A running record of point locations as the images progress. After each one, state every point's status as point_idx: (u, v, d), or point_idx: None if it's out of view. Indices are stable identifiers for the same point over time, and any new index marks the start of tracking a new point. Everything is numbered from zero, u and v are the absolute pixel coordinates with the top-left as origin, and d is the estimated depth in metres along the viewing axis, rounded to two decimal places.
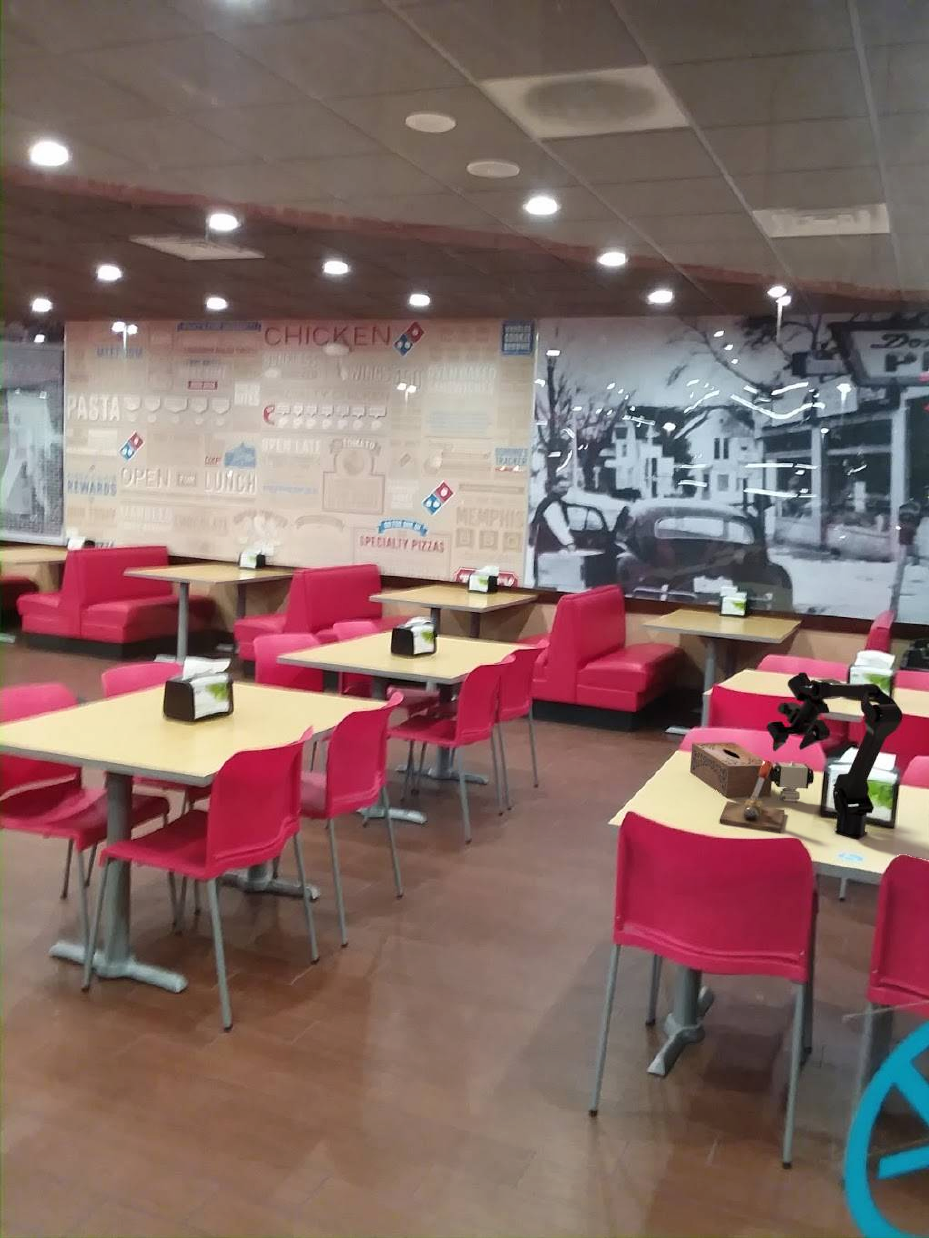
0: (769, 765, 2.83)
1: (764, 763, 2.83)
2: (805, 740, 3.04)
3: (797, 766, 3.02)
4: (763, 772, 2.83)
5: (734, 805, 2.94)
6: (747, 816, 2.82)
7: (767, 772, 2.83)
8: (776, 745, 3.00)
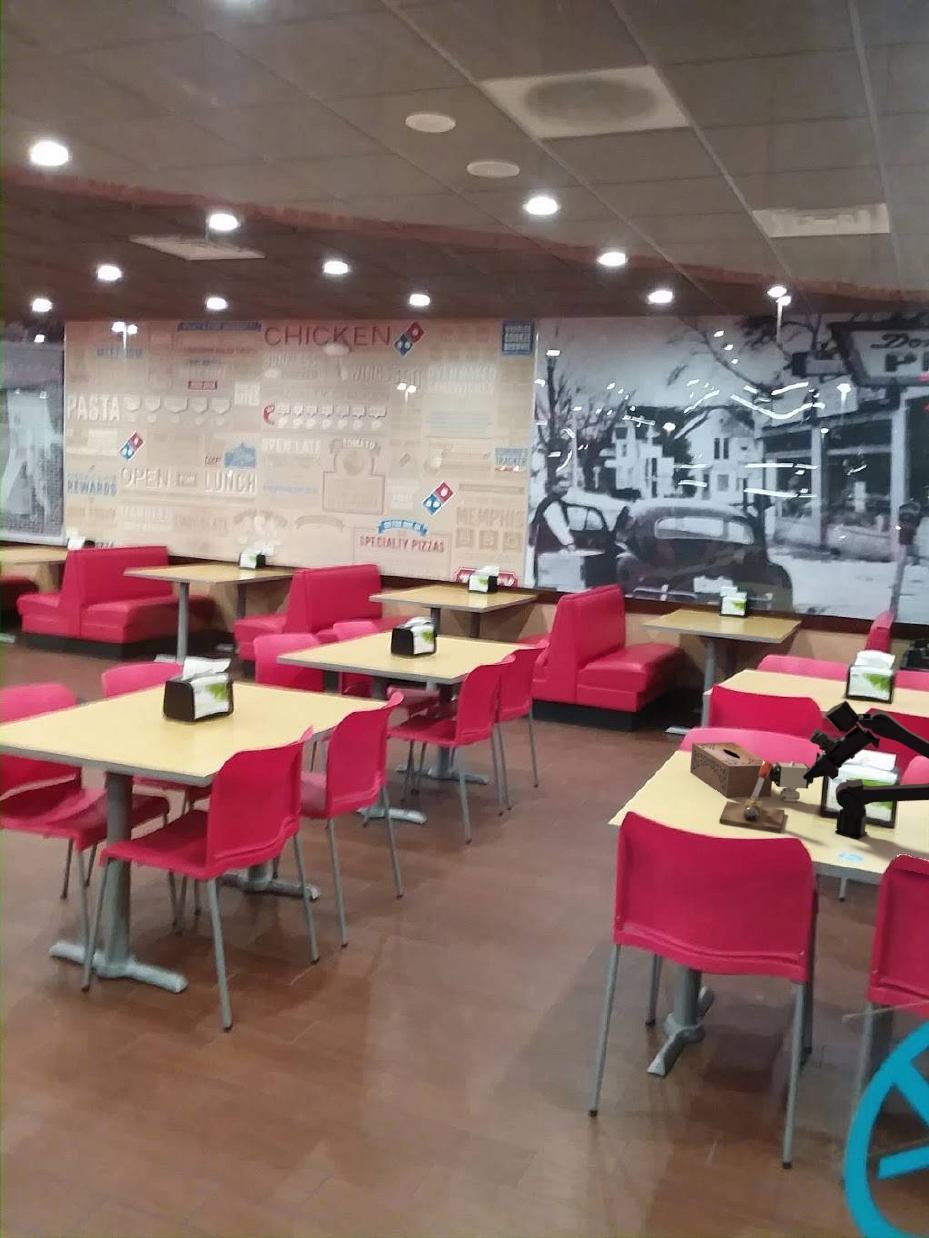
0: (769, 765, 2.83)
1: (764, 763, 2.83)
2: None
3: (797, 766, 3.02)
4: (763, 772, 2.83)
5: (734, 805, 2.94)
6: (747, 816, 2.82)
7: (767, 772, 2.83)
8: (815, 775, 2.78)
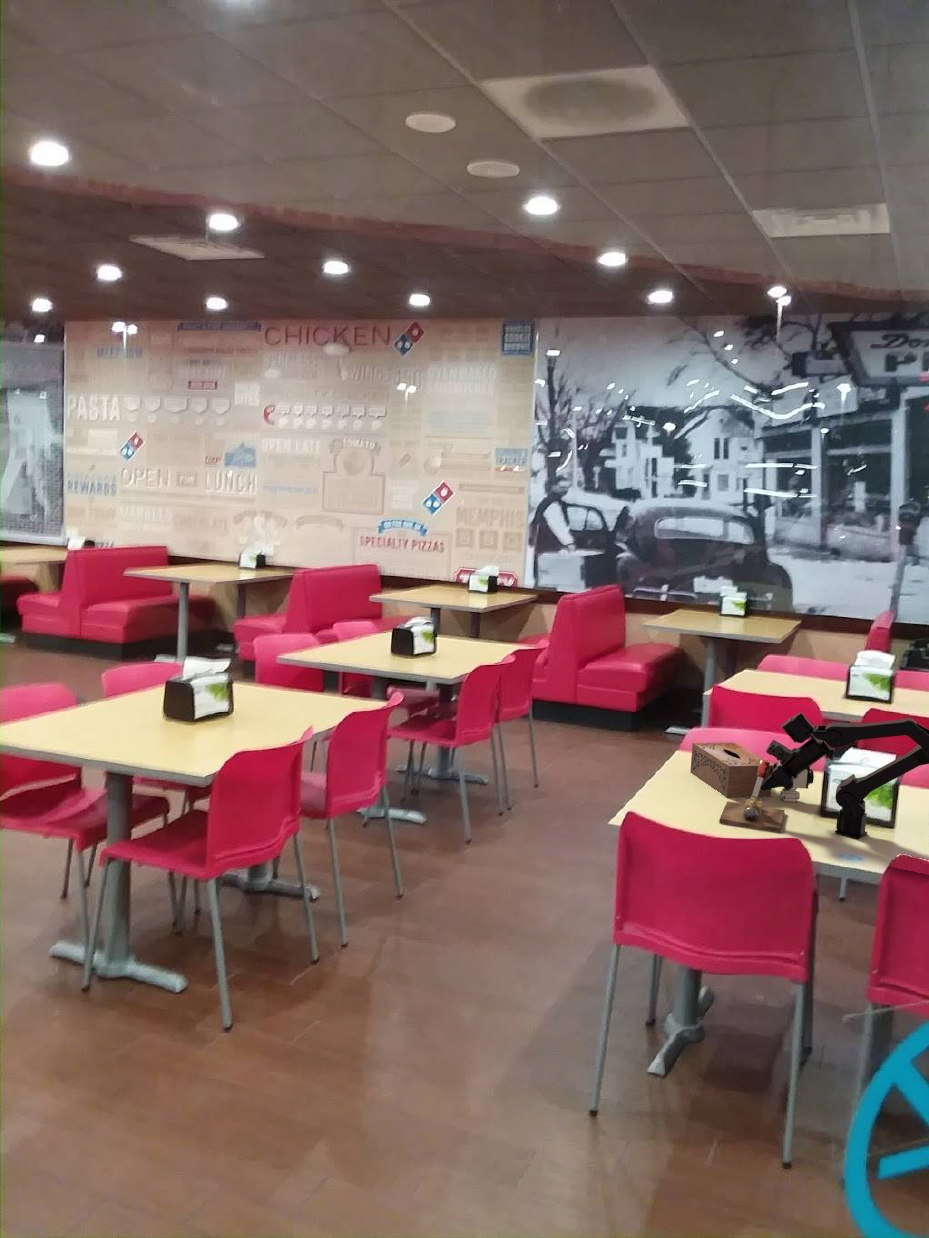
0: (767, 764, 2.83)
1: (761, 762, 2.84)
2: None
3: None
4: (761, 771, 2.84)
5: (734, 805, 2.94)
6: (747, 816, 2.82)
7: (765, 771, 2.84)
8: (772, 786, 2.83)
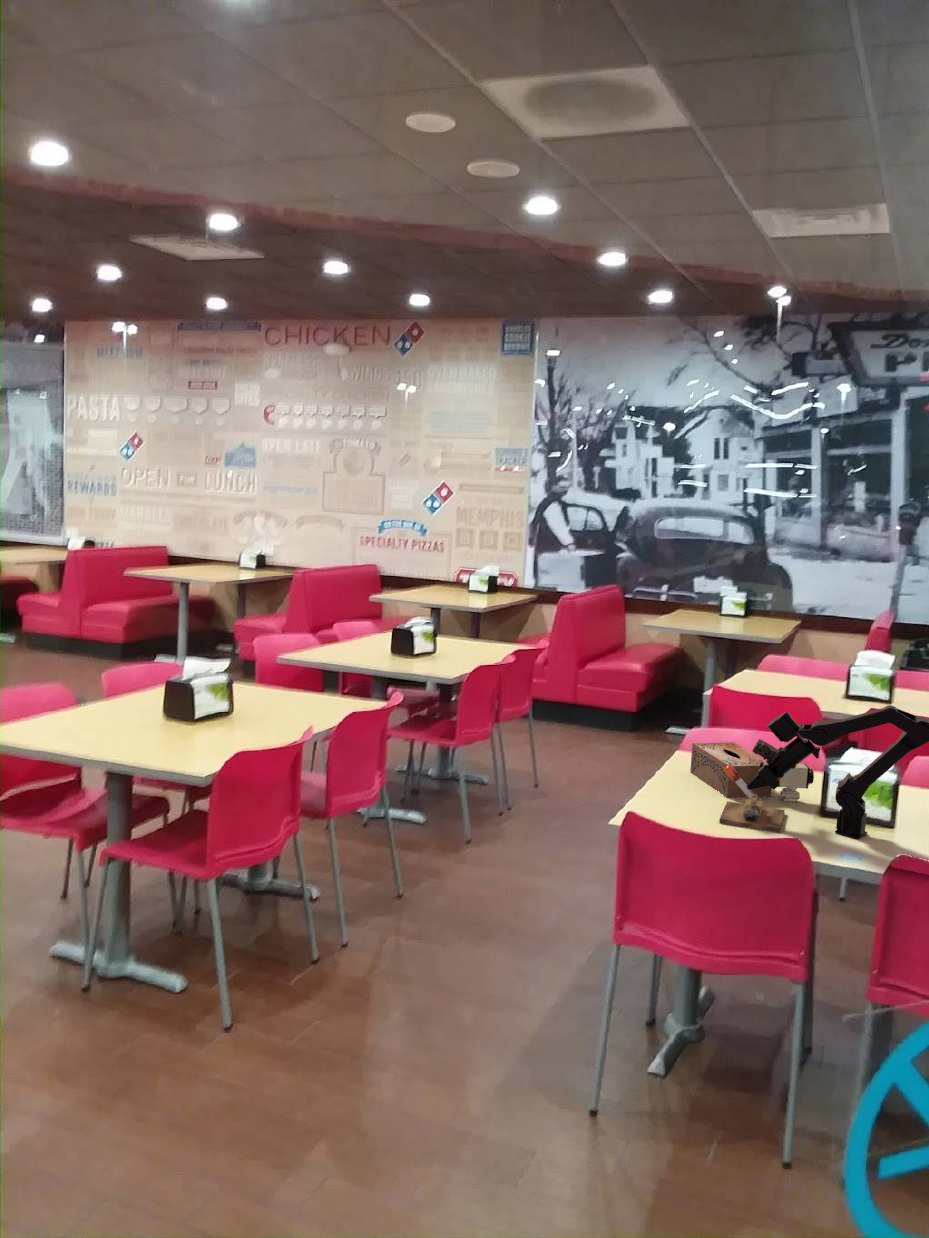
0: (729, 767, 2.87)
1: (725, 770, 2.87)
2: None
3: (797, 766, 3.02)
4: (732, 776, 2.87)
5: (734, 805, 2.94)
6: (747, 816, 2.82)
7: (734, 773, 2.87)
8: (759, 785, 2.84)
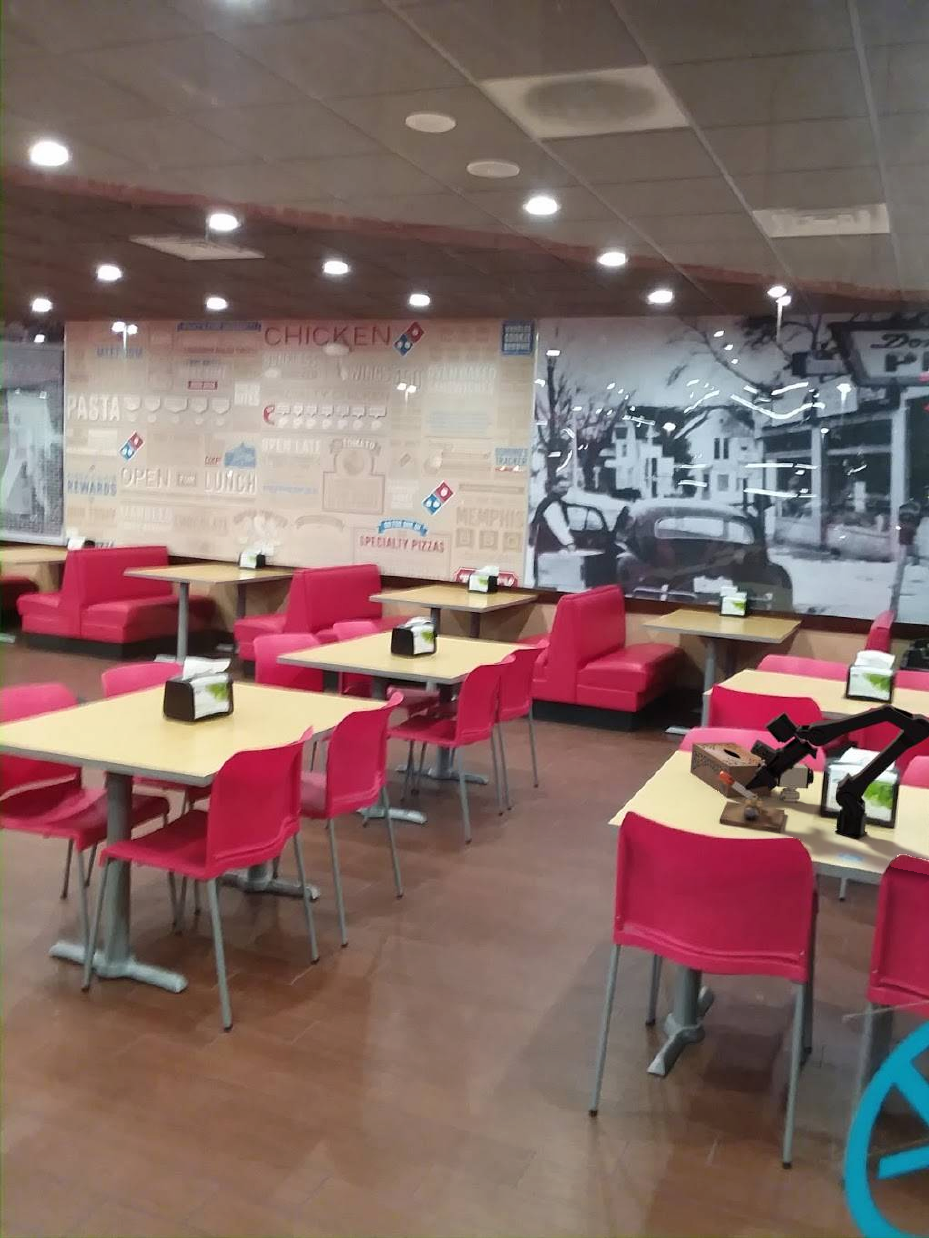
0: (722, 774, 2.88)
1: (719, 778, 2.88)
2: None
3: (797, 766, 3.02)
4: (727, 781, 2.87)
5: (734, 805, 2.94)
6: (747, 816, 2.82)
7: (728, 778, 2.87)
8: (756, 785, 2.84)
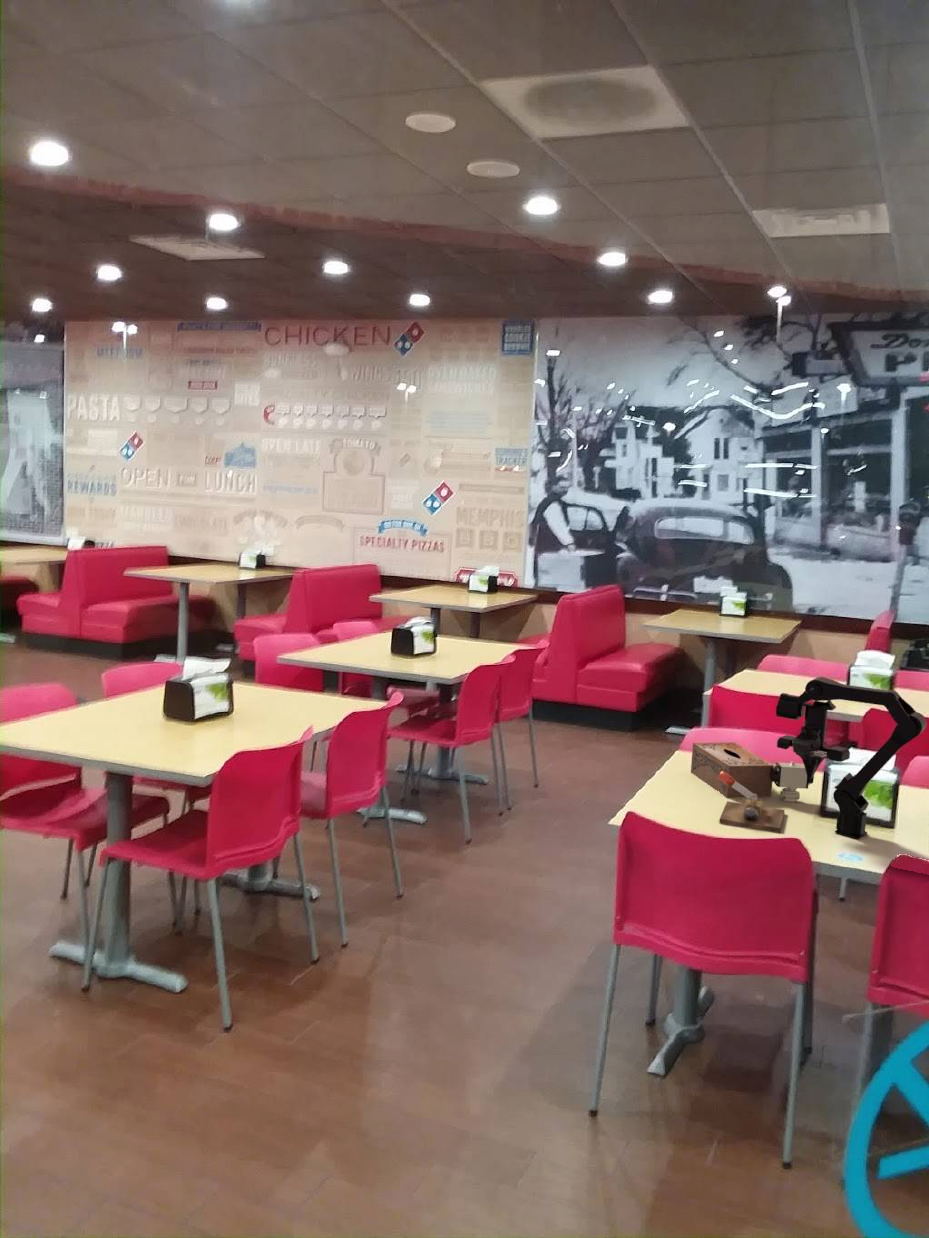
0: (722, 774, 2.88)
1: (719, 778, 2.88)
2: (810, 765, 2.83)
3: (797, 766, 3.02)
4: (727, 781, 2.87)
5: (734, 805, 2.94)
6: (747, 816, 2.82)
7: (728, 778, 2.87)
8: (817, 767, 2.82)
